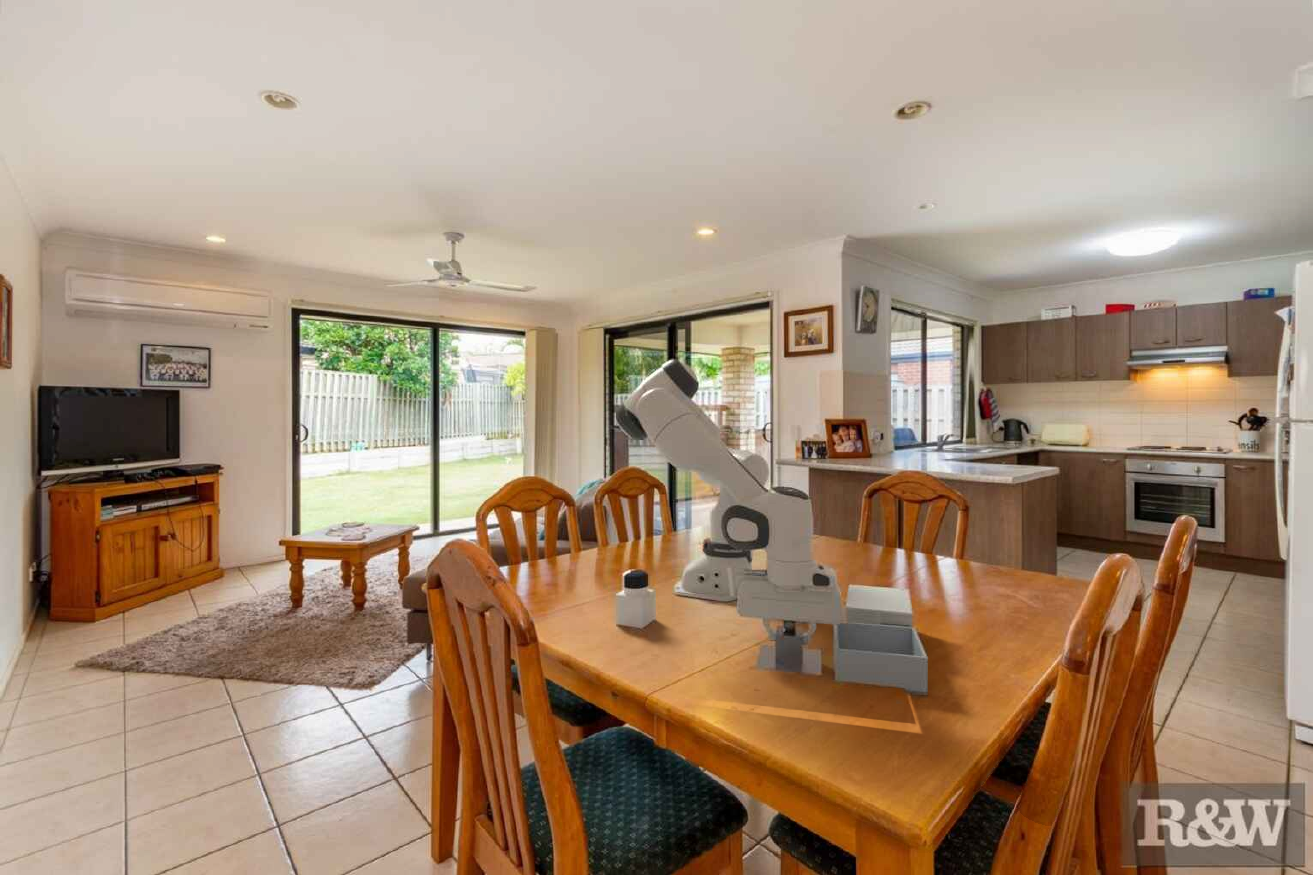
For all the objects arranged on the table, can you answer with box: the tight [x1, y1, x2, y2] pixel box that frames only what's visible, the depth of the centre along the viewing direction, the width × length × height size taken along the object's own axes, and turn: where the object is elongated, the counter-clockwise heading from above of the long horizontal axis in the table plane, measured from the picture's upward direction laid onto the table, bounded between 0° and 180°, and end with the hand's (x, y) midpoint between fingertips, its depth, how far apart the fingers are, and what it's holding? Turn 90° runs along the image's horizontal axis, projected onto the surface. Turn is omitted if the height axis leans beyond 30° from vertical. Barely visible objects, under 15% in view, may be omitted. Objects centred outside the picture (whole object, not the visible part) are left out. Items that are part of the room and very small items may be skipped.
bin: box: [833, 621, 929, 697], centre depth 113 cm, size 15×15×7 cm
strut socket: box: [774, 620, 804, 665], centre depth 117 cm, size 5×5×8 cm
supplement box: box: [844, 584, 914, 627], centre depth 130 cm, size 17×13×9 cm
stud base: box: [754, 643, 822, 676], centre depth 117 cm, size 12×12×4 cm
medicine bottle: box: [614, 569, 656, 629], centre depth 141 cm, size 7×7×12 cm
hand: (789, 641), depth 117 cm, fingers closed on strut socket, 5 cm apart
